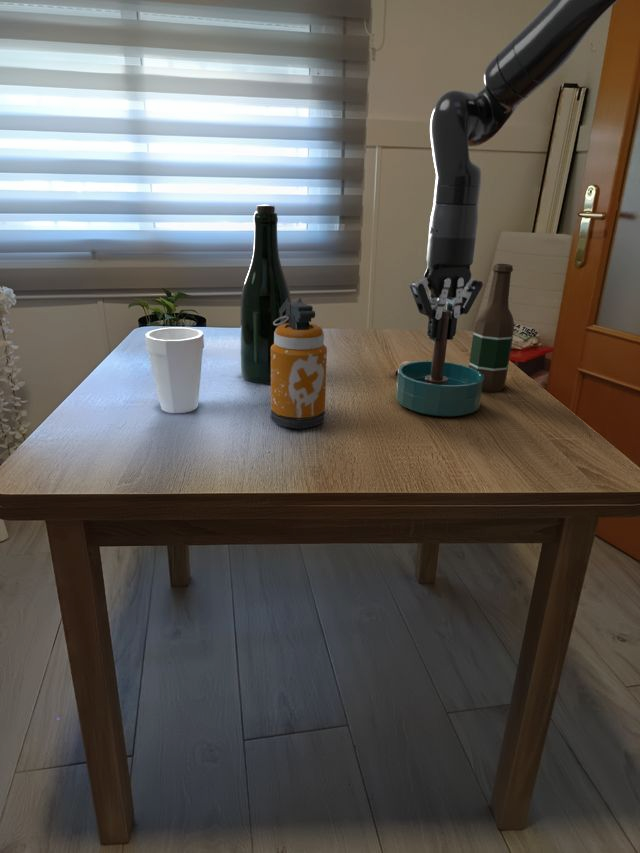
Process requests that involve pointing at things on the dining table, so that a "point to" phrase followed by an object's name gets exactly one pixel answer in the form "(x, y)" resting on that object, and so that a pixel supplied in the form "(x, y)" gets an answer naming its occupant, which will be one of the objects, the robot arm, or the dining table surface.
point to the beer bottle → (494, 333)
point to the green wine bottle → (262, 298)
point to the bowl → (439, 389)
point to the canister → (298, 368)
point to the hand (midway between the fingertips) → (441, 338)
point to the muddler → (440, 353)
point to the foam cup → (176, 366)
